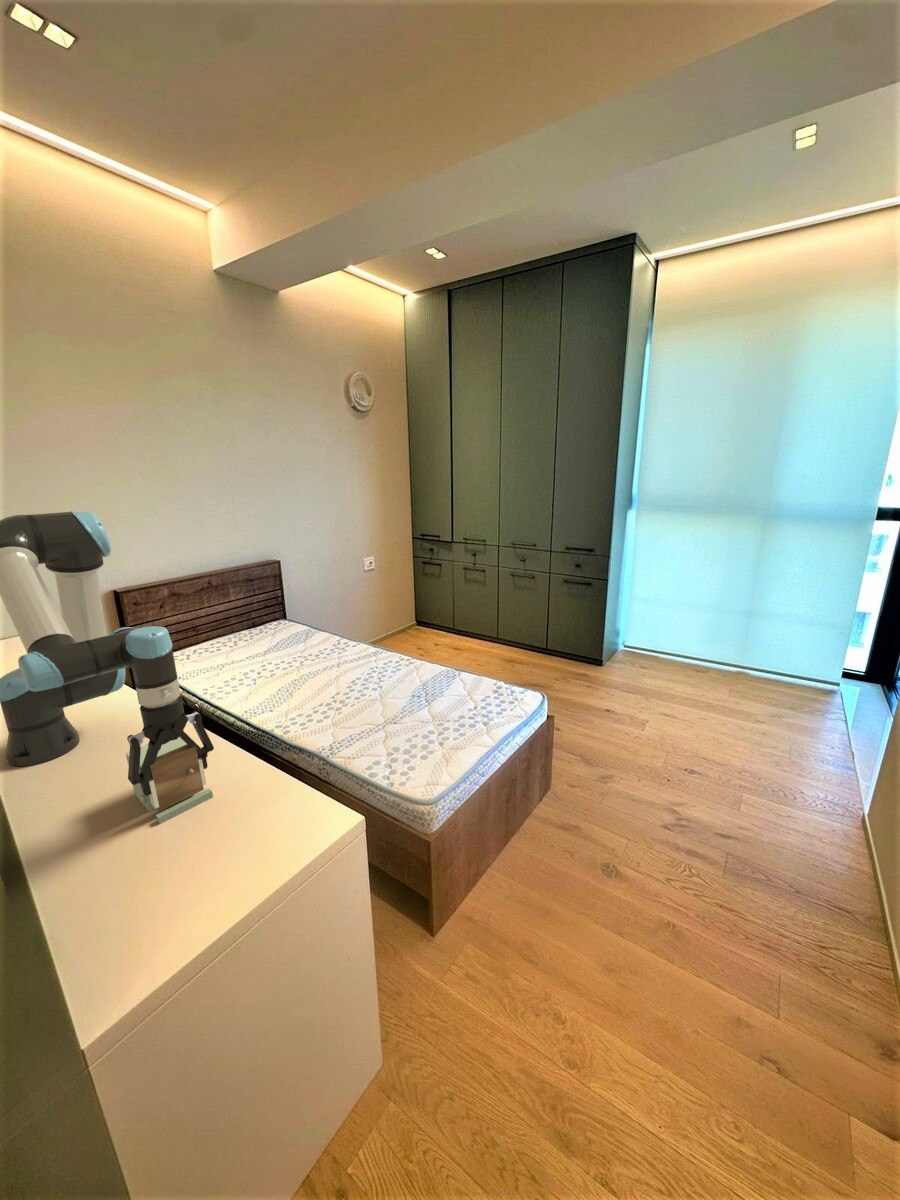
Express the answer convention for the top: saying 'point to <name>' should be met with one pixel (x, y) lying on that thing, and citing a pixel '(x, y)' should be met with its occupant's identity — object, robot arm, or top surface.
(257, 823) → the top surface
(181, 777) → the brown boxy piece
